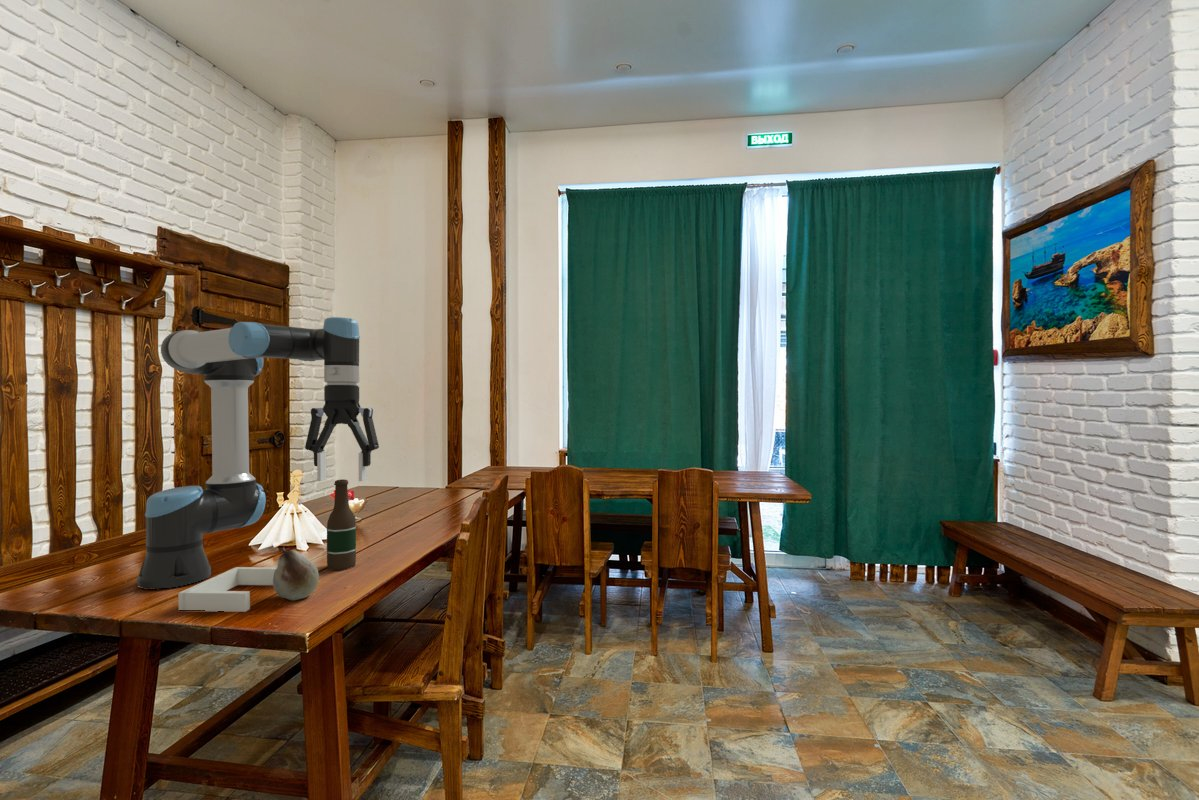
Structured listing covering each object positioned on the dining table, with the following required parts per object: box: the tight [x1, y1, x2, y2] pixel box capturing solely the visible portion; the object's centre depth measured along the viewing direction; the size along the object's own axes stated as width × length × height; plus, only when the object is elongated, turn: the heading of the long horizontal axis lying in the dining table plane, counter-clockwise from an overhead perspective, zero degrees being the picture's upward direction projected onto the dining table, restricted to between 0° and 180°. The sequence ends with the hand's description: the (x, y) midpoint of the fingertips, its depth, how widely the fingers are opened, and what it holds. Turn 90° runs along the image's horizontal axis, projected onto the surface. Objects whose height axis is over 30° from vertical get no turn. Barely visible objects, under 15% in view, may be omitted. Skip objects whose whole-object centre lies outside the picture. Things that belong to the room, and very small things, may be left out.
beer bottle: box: [326, 479, 357, 571], centre depth 158 cm, size 8×8×24 cm
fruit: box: [272, 546, 320, 602], centre depth 134 cm, size 10×9×12 cm
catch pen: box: [178, 566, 277, 613], centre depth 135 cm, size 15×19×4 cm
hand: (342, 480), depth 134 cm, fingers open, 9 cm apart
